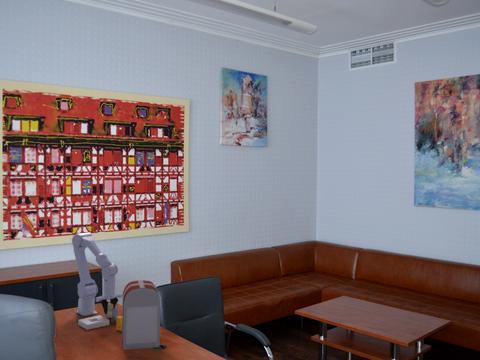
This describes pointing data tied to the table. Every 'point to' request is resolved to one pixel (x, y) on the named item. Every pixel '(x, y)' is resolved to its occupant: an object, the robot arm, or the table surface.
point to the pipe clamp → (119, 323)
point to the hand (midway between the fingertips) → (108, 312)
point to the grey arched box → (140, 315)
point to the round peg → (114, 315)
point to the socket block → (93, 322)
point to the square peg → (109, 310)
